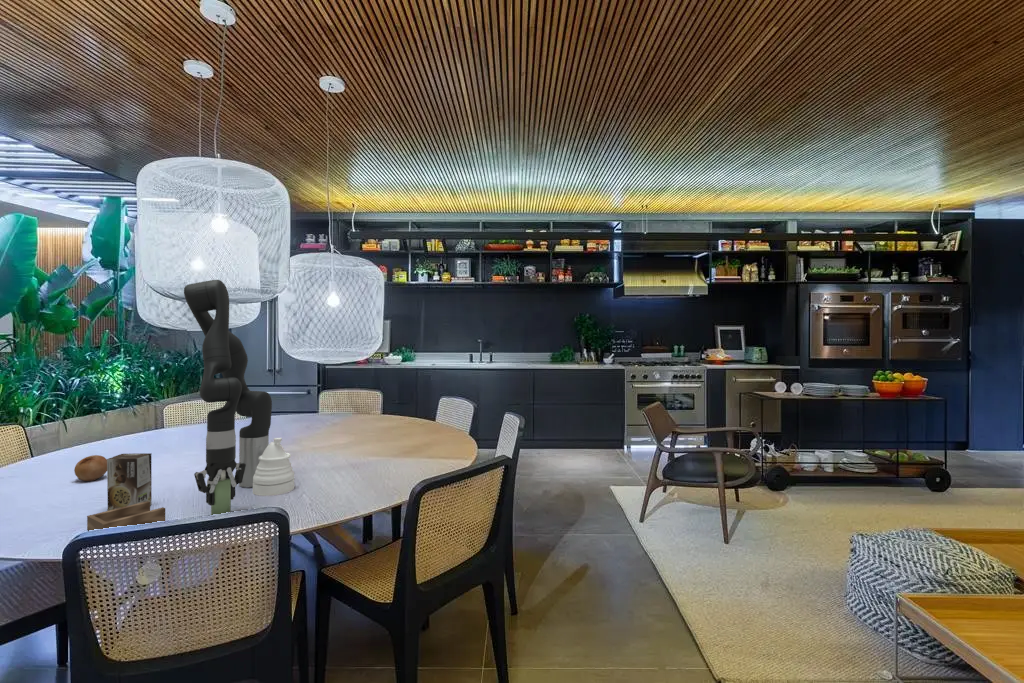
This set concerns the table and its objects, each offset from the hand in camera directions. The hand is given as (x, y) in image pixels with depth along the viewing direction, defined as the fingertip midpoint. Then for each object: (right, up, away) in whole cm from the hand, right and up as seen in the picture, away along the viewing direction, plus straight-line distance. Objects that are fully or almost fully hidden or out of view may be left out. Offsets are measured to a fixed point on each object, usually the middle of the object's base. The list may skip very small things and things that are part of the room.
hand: (220, 501), depth 142 cm
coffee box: (-30, -3, +4) cm, 31 cm away
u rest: (-20, -4, -9) cm, 22 cm away
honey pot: (+4, -4, +23) cm, 24 cm away
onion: (-66, -3, +32) cm, 74 cm away
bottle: (0, -3, 0) cm, 3 cm away
